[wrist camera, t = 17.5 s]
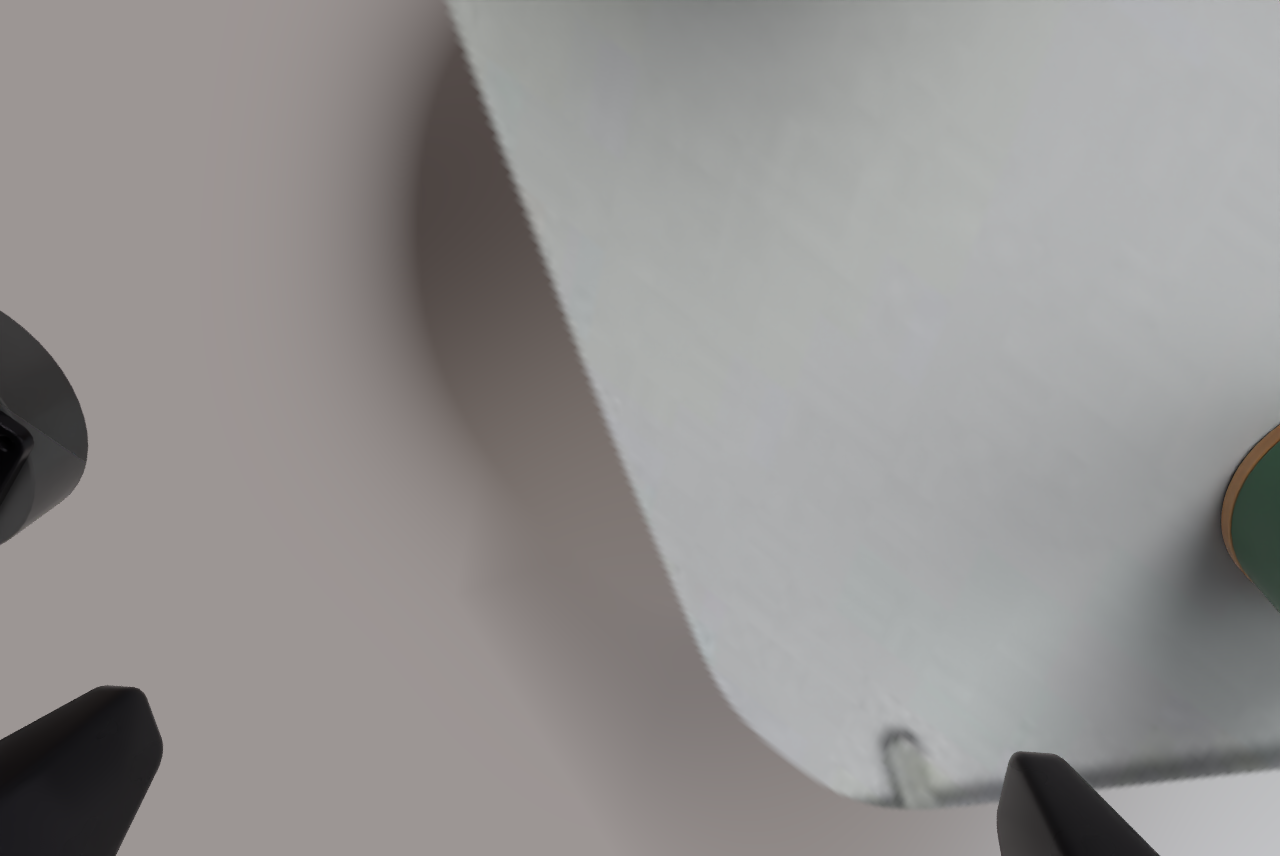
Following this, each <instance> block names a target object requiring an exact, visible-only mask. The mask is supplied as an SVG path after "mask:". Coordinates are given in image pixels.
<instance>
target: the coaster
mask: <svg viewBox="0 0 1280 856" xmlns="http://www.w3.org/2000/svg"><path fill="white" fill-rule="evenodd" d="M1279 441H1280V425H1279V426H1277V427H1276V428H1275V429H1273V430H1272V431H1271V432H1270V433H1268V434H1267V435H1266V436H1265V437H1264V438H1263V439H1262V440H1261V441H1260V442H1259V443H1258V444H1257V445H1256V446H1255V447H1254V448H1253V449H1252V450H1251V452H1250V453H1249V454H1248V455H1247V456H1246V457H1245V459H1244V460H1243V462H1242V463H1241V464H1240V466H1239V467H1238V469H1237V470H1236V472H1235V474H1234V476H1233V478H1232V480H1231V482H1230V484H1229V486H1228V489H1227V492H1226V495H1225V498H1224V502H1223V507H1222V513H1221V528H1222V534H1223V540H1224V543H1225V545H1226V548H1227V551H1228V553H1229V554H1230V556H1231V558H1232V559H1233V561H1234V563H1235V564H1236V565H1237V566H1238V567H1239V569H1240V570H1241V571H1242V572H1243V573H1244V574H1245V575H1246V577H1247V578H1248V579H1249V580H1250V581H1251V582H1252V580H1251V579H1250V578H1249V577H1248V575H1247V574H1246V573H1245V572H1244V570H1243V569H1242V567H1241V565H1240V563H1239V562H1238V560H1237V557H1236V554H1235V551H1234V548H1233V543H1232V535H1231V525H1232V515H1233V511H1234V506H1235V503H1236V500H1237V497H1238V495H1239V492H1240V490H1241V488H1242V486H1243V484H1244V483H1245V481H1246V479H1247V477H1248V475H1249V474H1250V473H1251V471H1252V470H1253V469H1254V467H1255V466H1256V465H1257V463H1258V462H1259V461H1260V460H1261V459H1262V457H1263V456H1264V455H1265V454H1266V453H1267V452H1268V451H1269V450H1270V449H1271V448H1272V447H1273V446H1274V445H1275V444H1277V443H1278V442H1279Z"/></svg>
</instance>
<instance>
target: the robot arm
mask: <svg viewBox="0 0 1280 856" xmlns="http://www.w3.org/2000/svg"><path fill="white" fill-rule="evenodd" d="M10 439H11V440H12V441H13V442H14V443H13V442H12V441H11V440H10ZM33 446H34V440H33V436H32V435H31V433H30V432H29V431H28V430H27V429H26V428H25V427H24V426H23V425H21V424H20V423H18V422H17V421H15V420H14V419H12V418H11V417H10V416H8V415H7V414H5V413H4V412H2V411H1V410H0V506H1V504H2V502H3V500H4V499H5V497H6V495H7V493H8V492H9V490H10V488H11V486H12V485H13V483H14V481H15V479H16V477H17V476H18V474H19V472H20V470H21V469H22V467H23V465H24V463H25V462H26V460H27V458H28V456H29V454H30V453H31V451H32V449H33ZM162 754H163V743H162V738H161V735H160V733H159V730H158V727H157V725H156V722H155V719H154V716H153V714H152V711H151V708H150V706H149V703H148V700H147V698H146V696H145V694H144V693H143V692H142V691H141V690H140V689H138V688H135V687H123V686H122V687H121V686H108V685H107V686H100V687H97V688H95V689H93V690H91V691H89V692H87V693H85V694H84V695H82V696H80V697H78V698H77V699H74V700H73V701H71V702H69V703H67V704H65V705H63V706H62V707H60V708H58V709H56V710H54V711H53V712H51V713H49V714H47V715H45V716H43V717H42V718H40V719H38V720H36V721H34V722H32V723H31V724H29V725H27V726H25V727H23V728H21V729H20V730H18V731H16V732H14V733H12V734H10V735H9V736H7V737H5V738H3V739H1V740H0V856H116V854H117V852H118V850H119V848H120V846H121V844H122V842H123V840H124V837H125V835H126V833H127V831H128V829H129V827H130V825H131V823H132V821H133V819H134V817H135V815H136V813H137V811H138V809H139V807H140V805H141V803H142V800H143V799H144V796H145V794H146V792H147V790H148V788H149V786H150V784H151V782H152V780H153V778H154V776H155V774H156V772H157V770H158V768H159V765H160V762H161V758H162ZM997 833H998V839H999V845H1000V851H1001V856H1160V855H1159V854H1158V853H1157V852H1156V851H1154V849H1153V848H1151V847H1150V845H1149V844H1148V843H1147V842H1146V841H1145V840H1144V839H1143V838H1142V837H1141V836H1140V835H1139V834H1138V833H1137V832H1136V831H1135V830H1133V828H1132V827H1131V826H1130V825H1129V824H1128V823H1127V822H1126V821H1125V820H1124V819H1123V818H1122V817H1121V816H1120V815H1119V814H1118V813H1117V812H1116V811H1115V810H1114V809H1113V808H1112V807H1111V806H1110V805H1109V804H1108V803H1107V802H1106V801H1105V800H1104V799H1103V798H1102V797H1101V796H1100V795H1099V794H1098V793H1097V792H1096V791H1095V790H1094V789H1093V788H1092V787H1091V786H1090V785H1089V784H1088V783H1087V782H1086V781H1085V780H1084V779H1083V778H1082V777H1081V776H1080V775H1079V774H1078V773H1077V772H1076V771H1075V770H1074V769H1073V768H1072V767H1071V766H1070V765H1069V764H1068V763H1067V762H1066V761H1065V760H1064V759H1062V758H1061V757H1059V756H1058V755H1055V754H1050V753H1036V752H1022V751H1020V752H1016V753H1014V754H1013V755H1012V756H1011V758H1010V760H1009V763H1008V767H1007V771H1006V775H1005V780H1004V784H1003V788H1002V792H1001V796H1000V801H999V805H998V810H997Z"/></svg>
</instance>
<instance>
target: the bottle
mask: <svg viewBox="0 0 1280 856" xmlns="http://www.w3.org/2000/svg"><path fill="white" fill-rule="evenodd" d="M1231 535H1232V543H1233V548H1234V551H1235V554H1236V557H1237V560H1238V562H1239V563H1240V565H1241V567H1242V569H1243V570H1244V572H1245V573H1246V574H1247V575H1248V577H1249V578H1250V579H1251V580H1252V582H1253V583H1254V584H1255V585H1256V586H1257V587H1258V588H1259V590H1260V591H1261V592H1262V593H1263V594H1264V595H1265V597H1266V598H1267V599H1268V600H1269V601H1270V602H1271V603H1272V605H1273V606H1274V607H1275V608H1276V609H1277V610H1278V612H1279V613H1280V441H1279V442H1278V443H1277V444H1275V445H1274V446H1273V447H1272V448H1271V449H1270V450H1269V451H1268V452H1267V453H1266V454H1265V455H1264V456H1263V457H1262V459H1261V460H1260V461H1259V462H1258V463H1257V465H1256V466H1255V467H1254V469H1253V470H1252V471H1251V473H1250V474H1249V475H1248V477H1247V479H1246V481H1245V483H1244V484H1243V486H1242V488H1241V490H1240V492H1239V495H1238V497H1237V500H1236V503H1235V506H1234V511H1233V515H1232V525H1231Z"/></svg>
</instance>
